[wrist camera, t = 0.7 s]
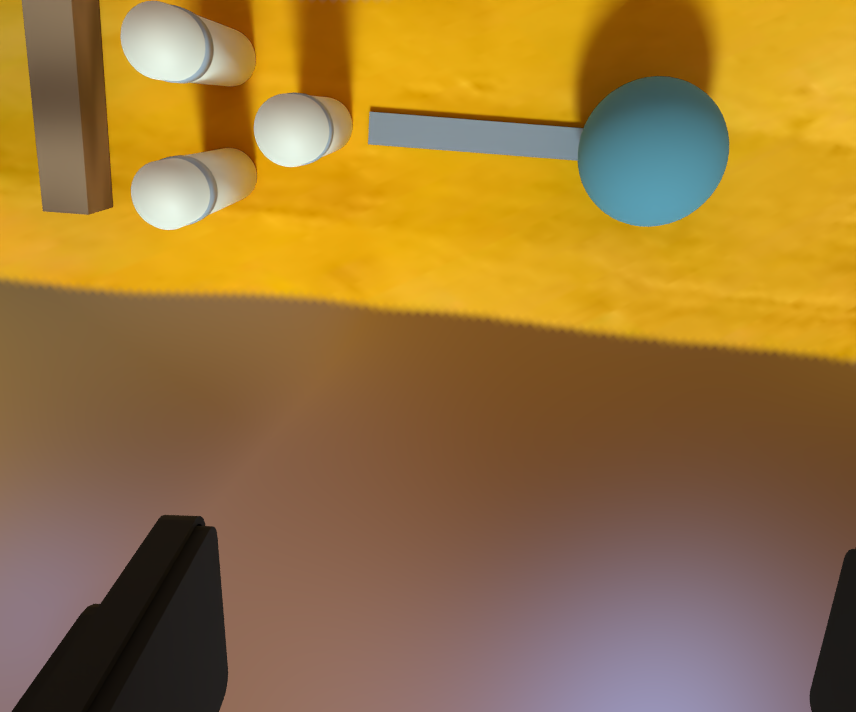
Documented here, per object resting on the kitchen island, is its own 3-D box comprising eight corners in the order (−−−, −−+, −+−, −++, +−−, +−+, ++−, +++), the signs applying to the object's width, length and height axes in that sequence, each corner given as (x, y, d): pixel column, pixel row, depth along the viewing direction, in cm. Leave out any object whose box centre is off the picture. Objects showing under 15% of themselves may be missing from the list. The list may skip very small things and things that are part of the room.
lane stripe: (590, 128, 33) (591, 128, 32) (586, 160, 33) (587, 161, 33) (370, 111, 32) (369, 111, 32) (368, 143, 33) (368, 144, 33)
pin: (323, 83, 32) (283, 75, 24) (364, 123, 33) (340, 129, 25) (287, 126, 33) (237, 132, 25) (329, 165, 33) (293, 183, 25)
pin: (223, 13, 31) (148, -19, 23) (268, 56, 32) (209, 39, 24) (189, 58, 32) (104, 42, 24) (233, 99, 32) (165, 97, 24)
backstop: (47, -60, 30) (14, -73, 28) (94, -56, 30) (65, -69, 28) (70, 203, 34) (42, 211, 32) (112, 207, 34) (88, 214, 32)
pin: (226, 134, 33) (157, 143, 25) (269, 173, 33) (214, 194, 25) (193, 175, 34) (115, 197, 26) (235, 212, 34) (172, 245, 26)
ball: (638, 48, 31) (682, 35, 26) (726, 146, 33) (787, 154, 27) (539, 152, 33) (560, 161, 27) (627, 242, 34) (664, 268, 29)
